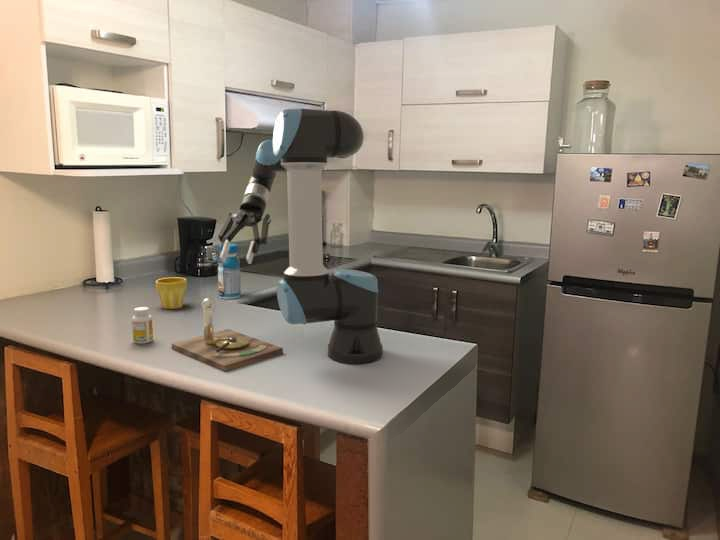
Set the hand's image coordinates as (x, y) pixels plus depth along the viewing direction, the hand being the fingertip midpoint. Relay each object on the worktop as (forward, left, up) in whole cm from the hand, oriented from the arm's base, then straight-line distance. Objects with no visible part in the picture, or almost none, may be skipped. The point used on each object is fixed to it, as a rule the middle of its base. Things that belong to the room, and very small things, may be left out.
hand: (235, 260), depth 172 cm
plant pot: (+42, -3, -23) cm, 48 cm away
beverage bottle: (+40, -26, -23) cm, 53 cm away
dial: (-10, +12, -21) cm, 26 cm away
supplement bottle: (+14, +23, -23) cm, 35 cm away
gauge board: (-11, +12, -23) cm, 28 cm away
